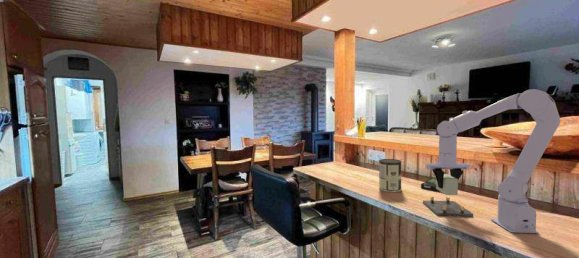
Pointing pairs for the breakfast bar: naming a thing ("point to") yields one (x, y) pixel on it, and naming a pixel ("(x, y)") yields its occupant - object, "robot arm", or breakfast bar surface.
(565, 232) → the breakfast bar surface
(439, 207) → the plate
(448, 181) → the block
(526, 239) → the breakfast bar surface
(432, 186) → the disk drive
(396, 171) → the coffee can
